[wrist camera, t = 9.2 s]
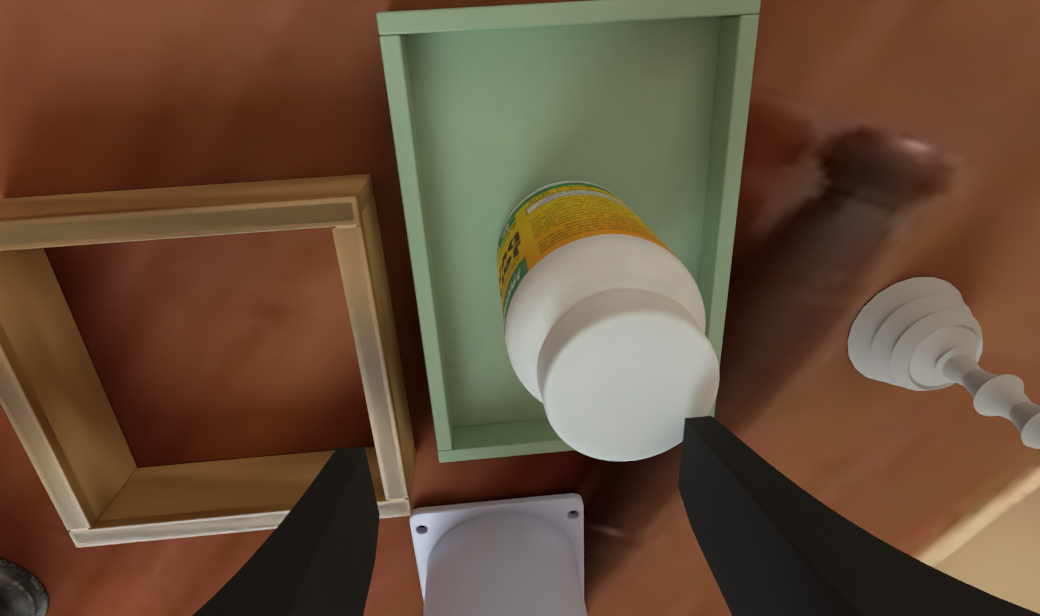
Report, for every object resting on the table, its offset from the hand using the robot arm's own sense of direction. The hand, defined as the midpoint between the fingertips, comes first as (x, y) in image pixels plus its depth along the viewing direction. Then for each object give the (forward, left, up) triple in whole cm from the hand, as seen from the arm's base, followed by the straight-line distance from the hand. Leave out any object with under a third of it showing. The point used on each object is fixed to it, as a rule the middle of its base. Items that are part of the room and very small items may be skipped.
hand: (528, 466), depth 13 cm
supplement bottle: (+1, -2, -10) cm, 10 cm away
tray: (+1, -2, -10) cm, 11 cm away
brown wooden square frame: (-2, +11, -10) cm, 15 cm away
